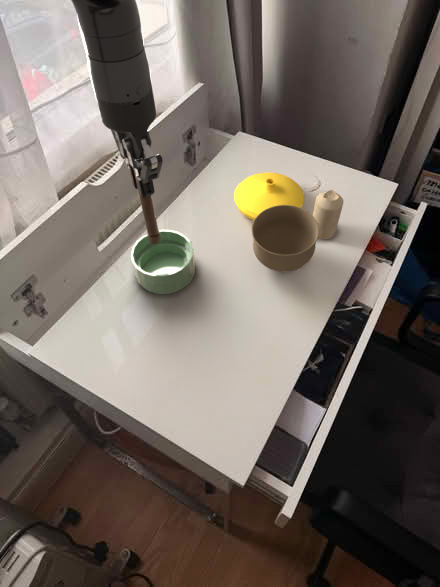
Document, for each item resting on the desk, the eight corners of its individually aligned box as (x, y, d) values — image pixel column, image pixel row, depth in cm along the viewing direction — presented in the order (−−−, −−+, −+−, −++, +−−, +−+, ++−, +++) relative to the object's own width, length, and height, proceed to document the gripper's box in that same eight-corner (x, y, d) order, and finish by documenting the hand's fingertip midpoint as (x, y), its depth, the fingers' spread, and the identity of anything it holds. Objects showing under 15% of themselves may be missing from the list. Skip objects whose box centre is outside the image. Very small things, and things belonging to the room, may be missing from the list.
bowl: (237, 267, 89) (238, 232, 81) (272, 231, 95) (275, 195, 87) (290, 296, 84) (296, 262, 76) (323, 256, 90) (332, 221, 82)
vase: (234, 183, 105) (234, 158, 99) (300, 183, 104) (304, 159, 98) (233, 229, 95) (233, 205, 90) (305, 231, 95) (310, 206, 89)
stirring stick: (151, 246, 78) (135, 171, 65) (145, 238, 80) (128, 163, 66) (163, 241, 79) (149, 165, 66) (157, 233, 80) (142, 157, 67)
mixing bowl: (153, 305, 84) (148, 286, 79) (126, 265, 90) (120, 245, 85) (206, 277, 87) (204, 258, 82) (176, 241, 93) (173, 221, 89)
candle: (314, 218, 97) (322, 182, 89) (338, 226, 95) (348, 190, 87) (306, 235, 94) (313, 199, 86) (330, 242, 92) (340, 207, 84)
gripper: (75, 71, 59) (105, 176, 72) (119, 119, 51) (142, 224, 65) (125, 56, 61) (145, 160, 75) (174, 99, 54) (185, 205, 68)
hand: (144, 190), depth 70 cm, fingers closed on stirring stick, 2 cm apart
